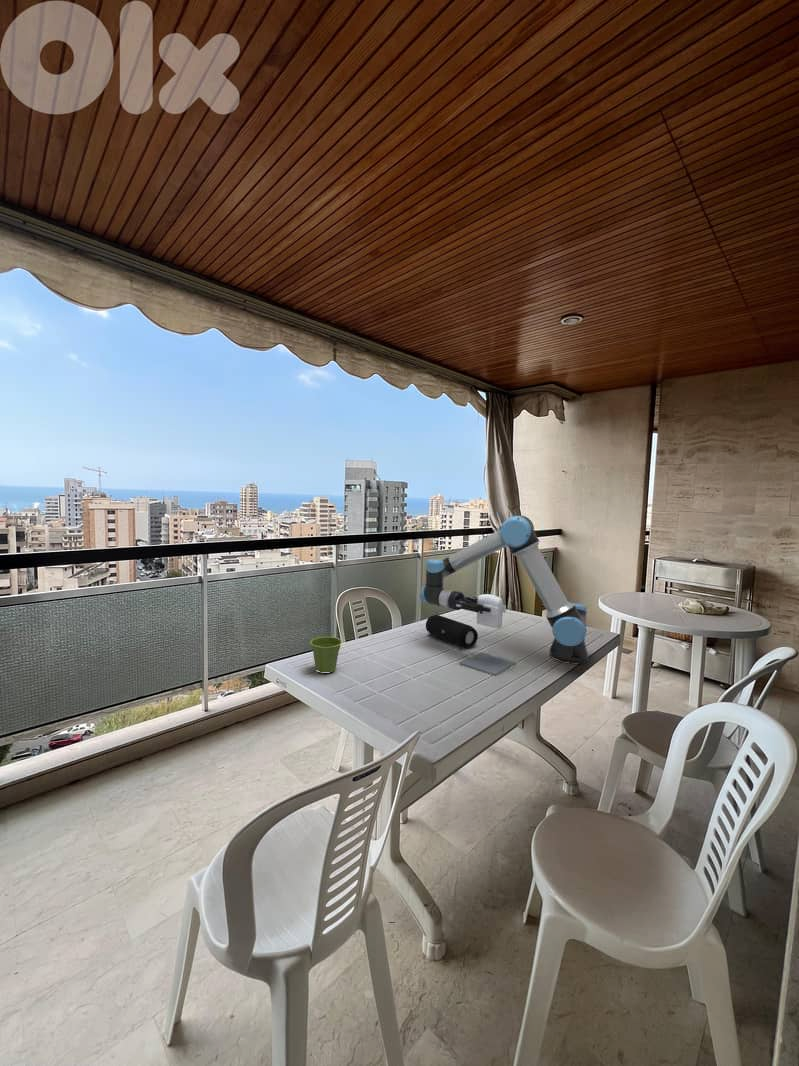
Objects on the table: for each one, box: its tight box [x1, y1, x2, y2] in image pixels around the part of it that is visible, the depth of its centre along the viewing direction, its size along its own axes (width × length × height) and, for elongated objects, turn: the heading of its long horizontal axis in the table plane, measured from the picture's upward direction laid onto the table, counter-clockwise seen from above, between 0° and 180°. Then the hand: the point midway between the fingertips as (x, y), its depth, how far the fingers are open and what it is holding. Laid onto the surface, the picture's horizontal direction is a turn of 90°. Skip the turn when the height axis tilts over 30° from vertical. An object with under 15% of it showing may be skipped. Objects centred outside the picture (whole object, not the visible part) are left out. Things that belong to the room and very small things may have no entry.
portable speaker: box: [425, 614, 479, 649], centre depth 200 cm, size 26×10×10 cm, turn 38°
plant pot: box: [309, 636, 343, 672], centre depth 163 cm, size 12×12×11 cm
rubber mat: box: [459, 652, 517, 677], centre depth 173 cm, size 16×16×1 cm
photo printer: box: [476, 593, 504, 630], centre depth 171 cm, size 10×4×12 cm, turn 51°
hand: (502, 610), depth 167 cm, fingers closed on photo printer, 4 cm apart
